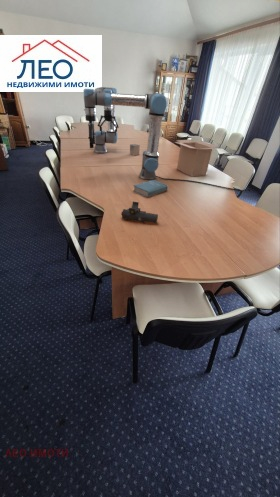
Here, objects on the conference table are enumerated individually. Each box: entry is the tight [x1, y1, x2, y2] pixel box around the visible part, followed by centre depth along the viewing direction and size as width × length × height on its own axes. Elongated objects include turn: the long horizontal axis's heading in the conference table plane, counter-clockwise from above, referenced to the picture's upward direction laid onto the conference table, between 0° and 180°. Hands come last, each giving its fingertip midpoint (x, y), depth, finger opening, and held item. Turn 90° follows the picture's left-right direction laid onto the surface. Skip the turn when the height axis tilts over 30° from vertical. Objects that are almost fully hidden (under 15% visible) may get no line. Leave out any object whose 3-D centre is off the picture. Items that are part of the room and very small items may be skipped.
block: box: [129, 143, 141, 156], centre depth 268 cm, size 8×8×11 cm
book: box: [133, 179, 169, 198], centre depth 177 cm, size 23×16×5 cm
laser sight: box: [120, 201, 159, 224], centre depth 136 cm, size 10×22×10 cm, turn 78°
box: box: [174, 139, 219, 177], centre depth 219 cm, size 44×36×27 cm
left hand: (108, 135), depth 217 cm, fingers open, 13 cm apart
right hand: (92, 145), depth 174 cm, fingers open, 13 cm apart
